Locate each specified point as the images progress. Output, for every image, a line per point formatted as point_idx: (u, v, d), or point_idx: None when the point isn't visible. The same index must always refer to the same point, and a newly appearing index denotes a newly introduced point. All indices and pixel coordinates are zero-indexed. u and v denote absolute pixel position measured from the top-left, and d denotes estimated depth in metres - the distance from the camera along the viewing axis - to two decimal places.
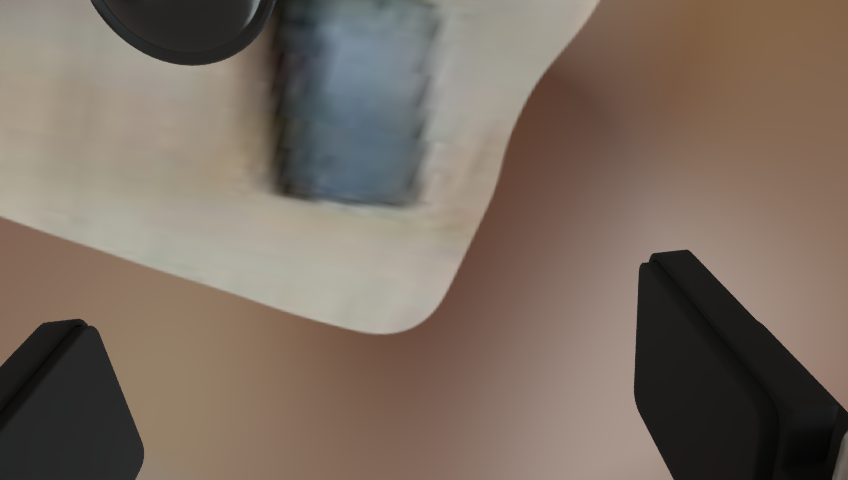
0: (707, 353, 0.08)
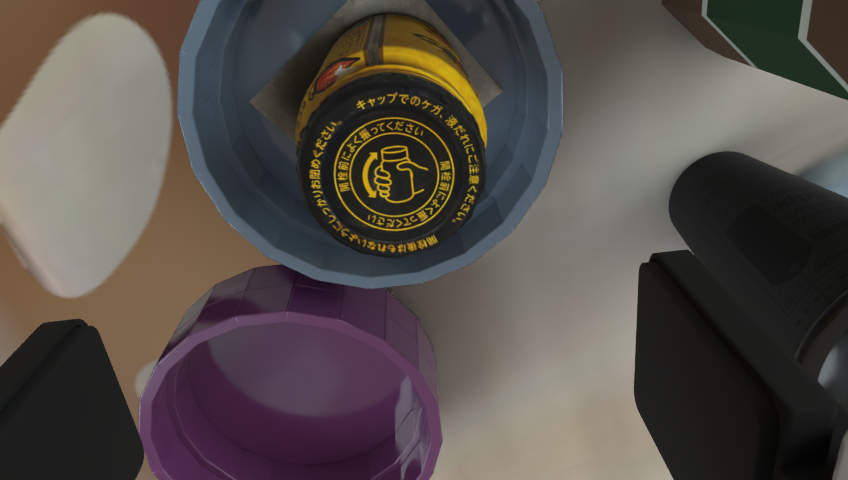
0: (707, 353, 0.08)
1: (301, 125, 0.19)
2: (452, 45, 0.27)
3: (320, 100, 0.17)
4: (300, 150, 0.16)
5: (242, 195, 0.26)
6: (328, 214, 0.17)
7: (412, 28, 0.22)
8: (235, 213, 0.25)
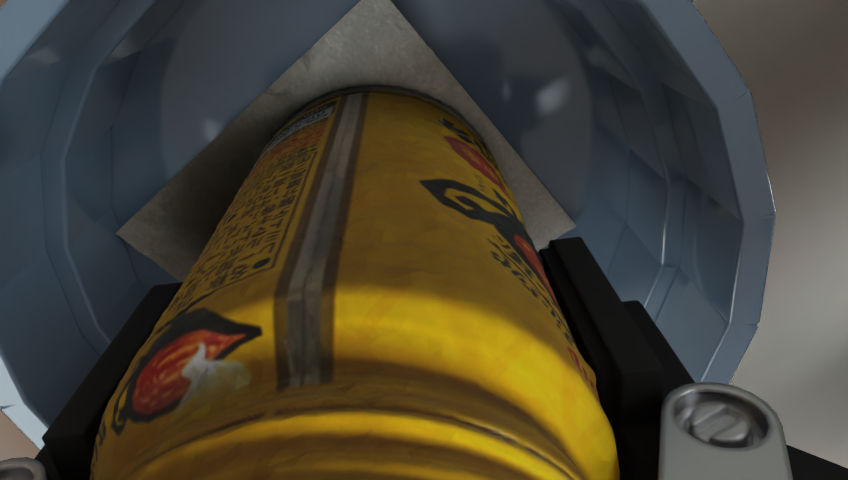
0: (574, 327, 0.09)
1: None
2: (491, 145, 0.15)
3: None
4: None
5: None
6: None
7: (422, 155, 0.10)
8: None
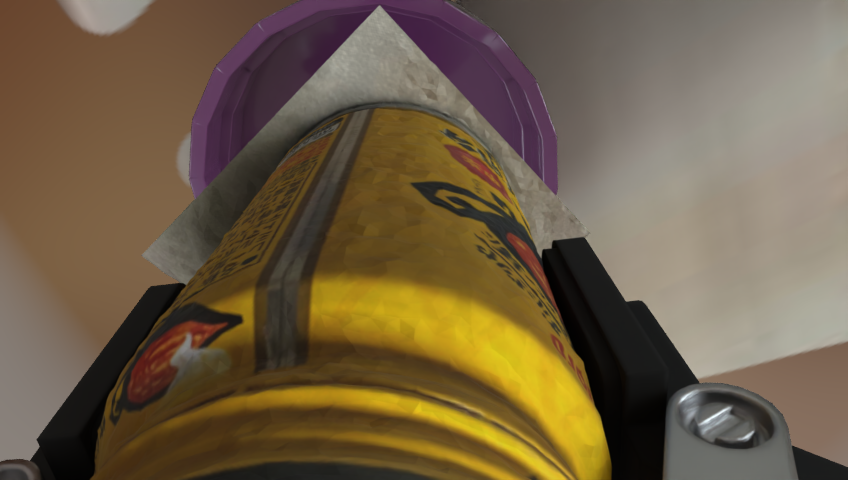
0: (578, 327, 0.09)
1: None
2: (499, 156, 0.15)
3: None
4: None
5: None
6: None
7: (417, 160, 0.10)
8: None
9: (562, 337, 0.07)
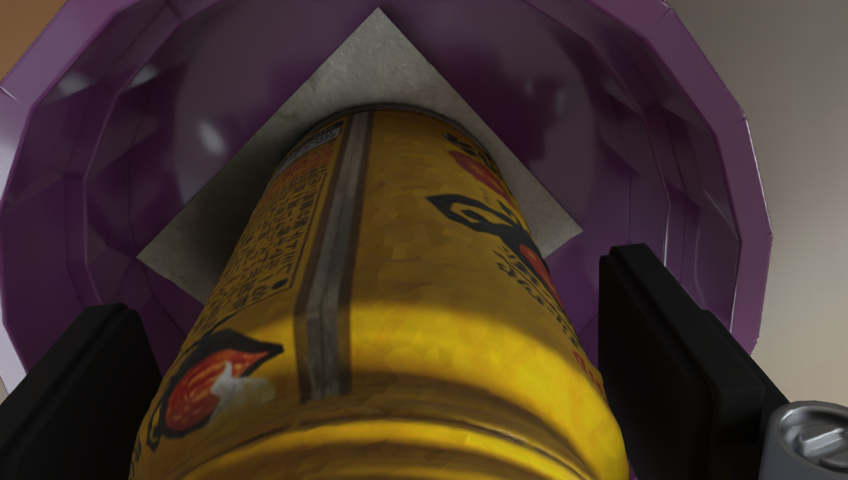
0: (653, 340, 0.08)
1: None
2: (495, 156, 0.15)
3: None
4: None
5: None
6: None
7: (427, 171, 0.10)
8: None
9: (580, 351, 0.08)
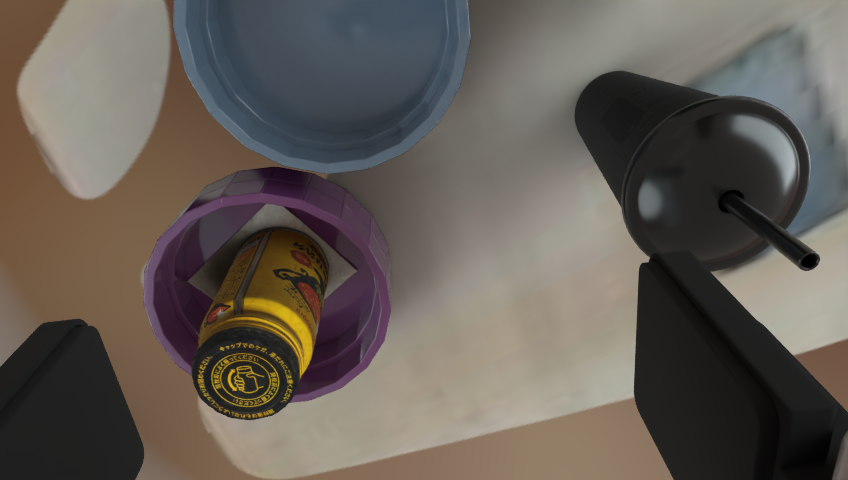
0: (707, 353, 0.08)
1: (200, 339, 0.32)
2: (320, 244, 0.40)
3: (206, 335, 0.31)
4: (192, 369, 0.30)
5: (225, 99, 0.33)
6: (210, 400, 0.31)
7: (277, 260, 0.36)
8: (219, 109, 0.32)
9: (302, 308, 0.33)
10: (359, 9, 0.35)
